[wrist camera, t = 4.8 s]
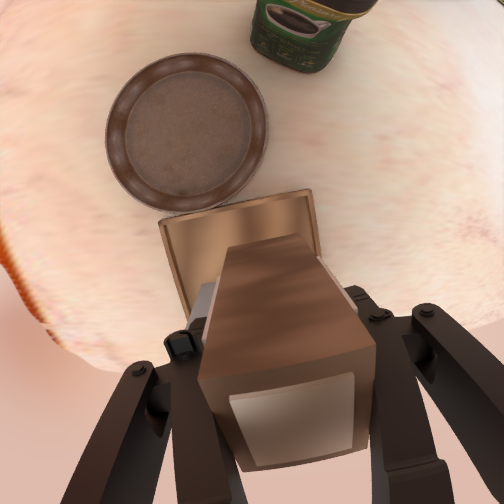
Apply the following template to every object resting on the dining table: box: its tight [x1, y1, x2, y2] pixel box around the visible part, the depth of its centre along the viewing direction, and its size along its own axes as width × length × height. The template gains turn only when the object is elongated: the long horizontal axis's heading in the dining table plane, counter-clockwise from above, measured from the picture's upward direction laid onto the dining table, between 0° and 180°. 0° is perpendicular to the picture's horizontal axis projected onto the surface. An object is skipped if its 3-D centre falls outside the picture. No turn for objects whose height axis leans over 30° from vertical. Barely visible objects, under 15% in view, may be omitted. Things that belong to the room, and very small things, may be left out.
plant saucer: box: [105, 53, 268, 214], centre depth 28 cm, size 18×18×3 cm
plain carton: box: [185, 282, 216, 330], centre depth 29 cm, size 4×5×12 cm
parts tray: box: [158, 189, 322, 321], centre depth 33 cm, size 17×15×2 cm
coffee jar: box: [250, 0, 378, 73], centre depth 17 cm, size 10×8×19 cm
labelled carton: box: [197, 233, 376, 472], centre depth 13 cm, size 4×5×12 cm
